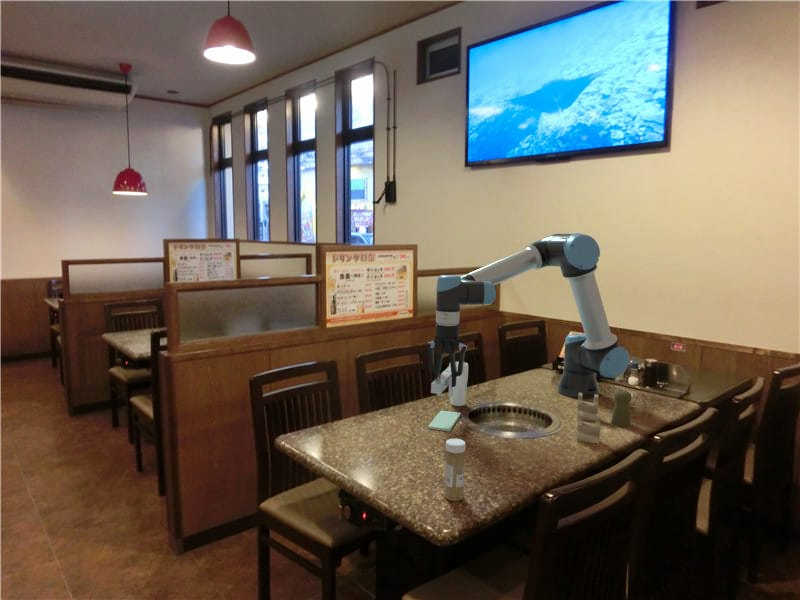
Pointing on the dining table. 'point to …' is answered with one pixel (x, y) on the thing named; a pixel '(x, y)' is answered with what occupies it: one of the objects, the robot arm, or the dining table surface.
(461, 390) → the drinking glass
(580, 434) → the hook stands
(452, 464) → the sprinkles bottle
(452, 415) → the sage board
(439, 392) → the steel rail
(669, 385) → the dining table surface
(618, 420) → the olive round-headed peg
